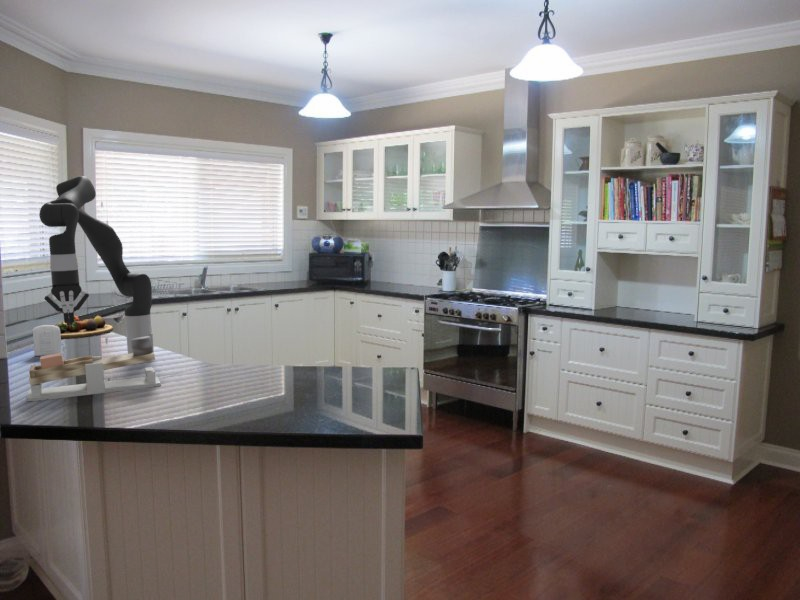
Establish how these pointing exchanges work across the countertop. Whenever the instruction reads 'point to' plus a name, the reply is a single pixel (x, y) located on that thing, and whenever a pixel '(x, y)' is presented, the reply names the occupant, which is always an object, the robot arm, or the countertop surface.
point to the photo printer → (47, 340)
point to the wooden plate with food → (84, 328)
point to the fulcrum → (94, 384)
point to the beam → (77, 365)
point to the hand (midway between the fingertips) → (69, 324)
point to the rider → (51, 360)
